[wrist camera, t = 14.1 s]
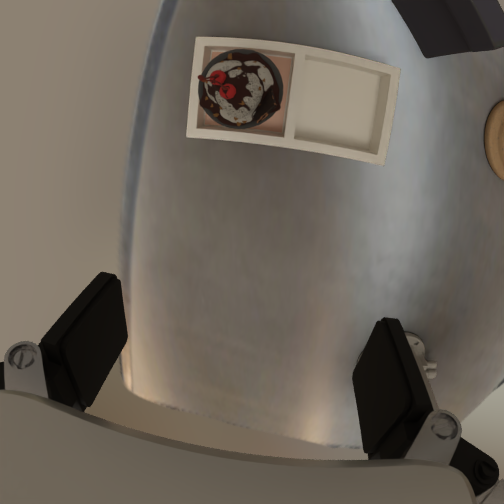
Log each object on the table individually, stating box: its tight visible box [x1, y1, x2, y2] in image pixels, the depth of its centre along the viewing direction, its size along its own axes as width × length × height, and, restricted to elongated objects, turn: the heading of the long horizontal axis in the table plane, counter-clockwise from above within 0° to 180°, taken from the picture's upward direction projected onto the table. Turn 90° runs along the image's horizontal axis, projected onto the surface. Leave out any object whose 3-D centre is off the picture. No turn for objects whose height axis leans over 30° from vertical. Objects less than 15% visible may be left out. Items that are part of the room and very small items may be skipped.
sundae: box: [198, 49, 283, 129], centre depth 24 cm, size 7×7×15 cm
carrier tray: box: [186, 37, 401, 166], centre depth 29 cm, size 21×11×4 cm, turn 84°
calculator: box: [392, 0, 504, 58], centre depth 18 cm, size 11×4×15 cm, turn 32°
